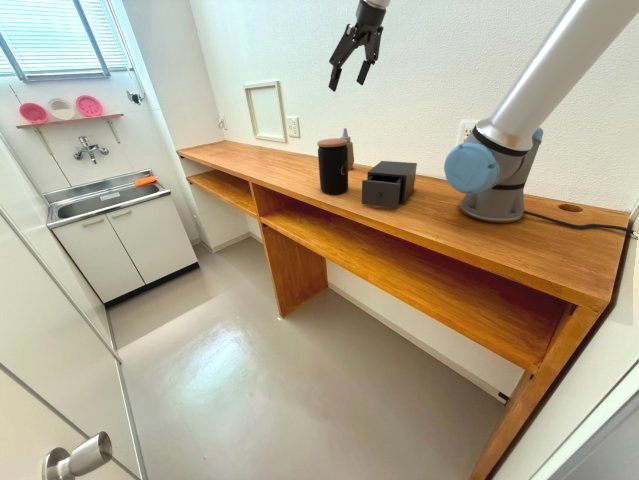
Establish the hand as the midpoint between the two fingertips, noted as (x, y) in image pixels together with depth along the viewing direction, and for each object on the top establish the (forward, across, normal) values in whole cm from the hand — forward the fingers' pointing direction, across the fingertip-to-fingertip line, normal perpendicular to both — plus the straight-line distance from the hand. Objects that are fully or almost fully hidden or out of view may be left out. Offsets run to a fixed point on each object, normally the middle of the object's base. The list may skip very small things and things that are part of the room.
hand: (346, 86), depth 83 cm
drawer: (+17, +7, +35) cm, 39 cm away
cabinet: (+19, 0, +34) cm, 39 cm away
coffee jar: (+29, +9, +17) cm, 35 cm away
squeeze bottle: (+39, -15, +4) cm, 42 cm away
